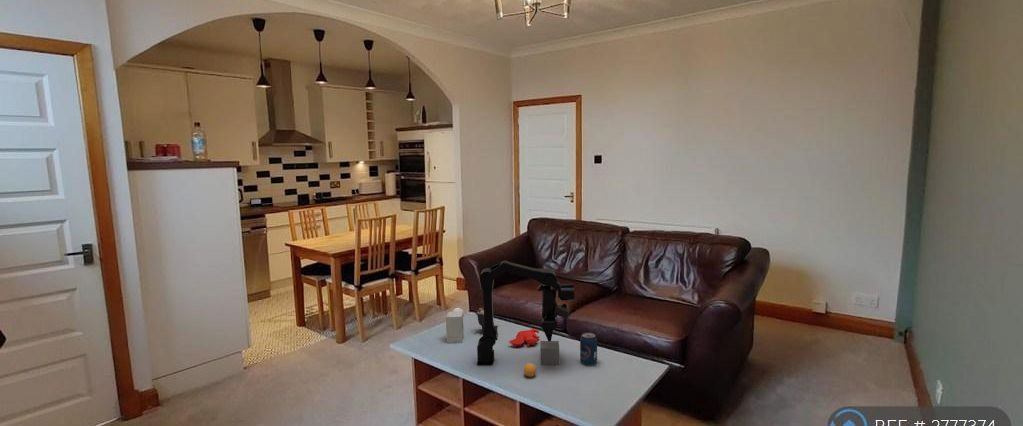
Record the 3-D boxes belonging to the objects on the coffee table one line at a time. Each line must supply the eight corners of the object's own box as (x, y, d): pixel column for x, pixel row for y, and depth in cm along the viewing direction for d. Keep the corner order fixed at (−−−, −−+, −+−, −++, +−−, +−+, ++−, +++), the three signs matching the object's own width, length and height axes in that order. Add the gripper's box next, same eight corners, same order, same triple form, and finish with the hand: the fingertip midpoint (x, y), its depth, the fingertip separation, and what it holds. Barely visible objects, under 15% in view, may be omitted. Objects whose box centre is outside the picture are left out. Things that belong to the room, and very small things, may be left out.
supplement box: (462, 342, 223) (461, 316, 221) (446, 343, 223) (445, 317, 221) (464, 336, 230) (463, 311, 228) (448, 336, 230) (447, 311, 228)
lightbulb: (459, 332, 235) (458, 310, 233) (449, 330, 238) (448, 308, 237) (467, 328, 240) (466, 307, 239) (457, 326, 244) (456, 305, 242)
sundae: (488, 335, 231) (487, 305, 229) (474, 334, 232) (473, 304, 230) (491, 330, 237) (490, 300, 235) (478, 329, 238) (477, 300, 236)
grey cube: (540, 365, 198) (540, 348, 197) (540, 357, 206) (540, 340, 205) (559, 365, 198) (559, 348, 197) (558, 357, 205) (558, 340, 204)
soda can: (576, 363, 199) (576, 335, 198) (586, 357, 204) (586, 330, 203) (591, 368, 195) (590, 339, 193) (600, 362, 200) (600, 334, 198)
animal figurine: (505, 346, 218) (504, 336, 217) (525, 335, 230) (525, 325, 229) (525, 353, 211) (524, 342, 210) (545, 341, 222) (544, 331, 222)
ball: (523, 378, 187) (522, 366, 186) (523, 372, 192) (523, 360, 191) (536, 378, 187) (535, 366, 186) (536, 372, 192) (536, 361, 191)
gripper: (570, 308, 188) (570, 346, 190) (567, 293, 206) (567, 328, 209) (541, 307, 189) (541, 345, 191) (541, 293, 207) (542, 328, 209)
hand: (549, 336), depth 200 cm, fingers open, 9 cm apart
